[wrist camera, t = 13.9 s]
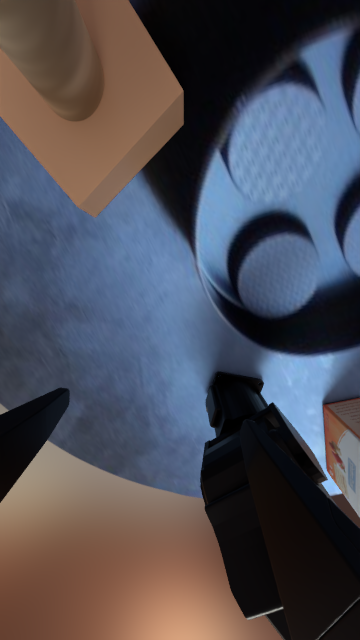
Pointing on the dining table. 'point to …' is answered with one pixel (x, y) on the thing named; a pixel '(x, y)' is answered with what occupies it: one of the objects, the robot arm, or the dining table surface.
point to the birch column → (53, 54)
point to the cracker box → (344, 447)
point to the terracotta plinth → (100, 110)
